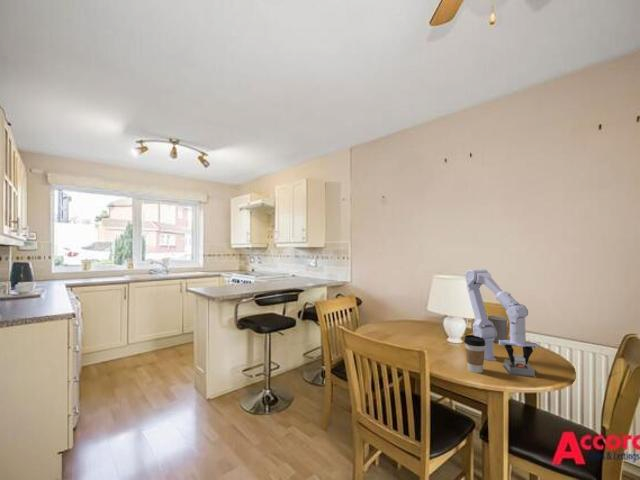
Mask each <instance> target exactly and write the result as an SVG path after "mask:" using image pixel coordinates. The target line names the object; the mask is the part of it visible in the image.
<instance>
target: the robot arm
mask: <svg viewBox="0 0 640 480" xmlns="http://www.w3.org/2000/svg"><path fill="white" fill-rule="evenodd" d="M464 278H465V281H466V289H467V293H468V296H469V301H470V304H471V308H472V311H473V315H474V319H475V321H474V322H473V324H472V334H473V336H478V337H481V338H483V339H484V340H485V346H484V349H485V351H484V361H492V362H496V361H497V359H496V357H495V356H494V355H495V354H494V353H495V351H494V348H495V347H494V345H495V342H493V340H494V338H495V337H496V336H497V331H496V329H495V327H494V326H493V323H492V322H491V321H489V320H488V315H487V312H486V308H485V305H484V300H483V297H482V294H481V290H480V288H481V287H482V286H483V285H485V286H486V287H487V288H488V289H489V290H490V291H491V292H492V293H493V294H494V295H495V296H496V300H497V301H498V303H499V304H500V305H501V306H502V307H503V308H504V309H505V310H506V311H505V313H506V315H507V317H508V321H509V339H507V340H499V343H498V345H499V346H504V348H505V350H506V353H507V354H508V358H509V359H508V360H510V362H511V363H513V354H514V351H515V350H514V348H513V347H519V348H520V347H521V348H522V352H523V354H522V356H523V357H524V358H525V361H526V363H525V364H527V363H528V364H529V358H530V357H531V356H532V354H533V352H534V349H537V350H538V349H539V344H538V343H537V342H533V341H532V342H531V341H527V339H526V337H527V335H526V334H527V333H526V318H527V317H528V315H529V309H528V308H527V307H526V305H524V304H523V303H522V304H521V303H519V302H518V301H517V300H516V299H515V298H514V297H513V296H512V294H511V293H510V292H508V291H503V289H502V288H501V287H500V285H498V284H497V282H496V281H495V280H494V278H492V274H491V272H489V271H488V270H487V269H486V268H485V269H484V268H482V269H468V270H467V271H466V273H465V274H464Z"/></svg>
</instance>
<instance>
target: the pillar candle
mask: <svg viewBox="0 0 640 480" xmlns="http://www.w3.org/2000/svg"><path fill="white" fill-rule="evenodd" d="M487 318H488V320H489V321H491V322H492V323H493V326H494V327H495V329H496V331H497V336H496V337H495V338H494V340H493V343H494V344H499V340H508V319H507V317H505V316H502V315H501V316H500V315H487Z"/></svg>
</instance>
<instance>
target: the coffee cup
mask: <svg viewBox="0 0 640 480" xmlns="http://www.w3.org/2000/svg"><path fill="white" fill-rule="evenodd" d="M463 343H464V344H465V347H464V349H465V357H466V364H467V371H468V372H470V373H476V374H481V373H484V364H485V363H484V362H485V360H484V351H485V349H484V346H485V340H484V339H483V338H481V337H478V336H474V334H473V335H471V334H466V335H464V340H463Z"/></svg>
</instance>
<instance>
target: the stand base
mask: <svg viewBox="0 0 640 480" xmlns="http://www.w3.org/2000/svg"><path fill="white" fill-rule="evenodd" d="M525 366H526V367H524V365H518V366H514V365H513V364H512V363H511V362H510V359H505V358H504V359H503V365H502V367H503V368H504V369H505V371H506V373H508V375H509V376H520V377H528V378H537V377H538V376H536V375H535V374H536V372H535V368H533V366H531V364H529V362H528V363H527V364H525Z"/></svg>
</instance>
